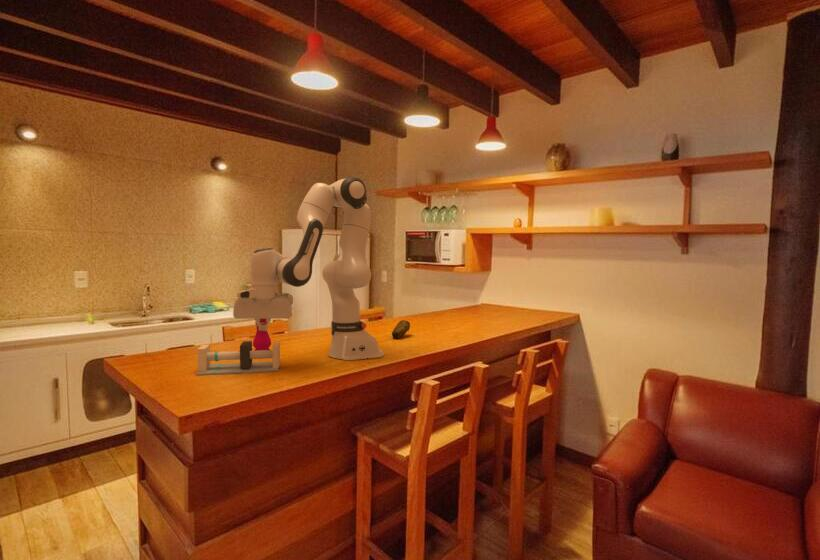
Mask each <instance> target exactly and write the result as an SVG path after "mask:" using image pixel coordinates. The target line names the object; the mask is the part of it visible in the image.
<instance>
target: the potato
mask: <svg viewBox="0 0 820 560" xmlns="http://www.w3.org/2000/svg"><path fill="white" fill-rule="evenodd" d="M410 328H411V323H410V321H408V320H400V321H399V322H398V323H397V324H396V325H395V327H394V328H393V330H392V331H391V336H392V338H394V339H399V338H402V337H404V336H405V334H407V332H409V331H410Z"/></svg>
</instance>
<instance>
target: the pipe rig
mask: <svg viewBox="0 0 820 560" xmlns="http://www.w3.org/2000/svg"><path fill="white" fill-rule="evenodd" d="M280 347H281V342H280V341H275V342H273V344H272V349H270V350H258V351H254V350H252V351H250V359H252V360H262V359H272V361H259V362H257V361H255V362H252V364H251V366H250V368H247V369H240V362H238V363H237V362H236V363H212V364H211V362H212V361H215V362H219V361H237V360H239V361H240V350H239V351H238V350H235V351H217V350H216V351H212V352H211V344H202V345H200V346H199V347H198V348H197V372H196V374H195V375H197V376H211V375H212V376H215V375H234V374H236V373H239V374H255V373H256V374H257V373H258V372H260V373H277V372H279V369H280V366H281V350H280V349H281V348H280ZM258 374H259V373H258Z"/></svg>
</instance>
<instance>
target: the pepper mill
mask: <svg viewBox="0 0 820 560" xmlns="http://www.w3.org/2000/svg"><path fill="white" fill-rule="evenodd" d="M254 320H255V321H256V319H254ZM254 323H255V326H256V330H255V331H256V332H255V335H254V337H253V341H252V347H253V348H254V350H253V351H258V350H271V349H270V348H271V345H272V340H271V337H270V335H269V333H268V330H267V331H259V326H258V325H257V323H256V322H254ZM259 323H260V324H261V325H266V324H267V322H266V319H260V321H259Z"/></svg>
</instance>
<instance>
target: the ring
mask: <svg viewBox="0 0 820 560" xmlns="http://www.w3.org/2000/svg"><path fill="white" fill-rule="evenodd" d="M239 351H240V360H239V363H240V369H247V368H250V366H251V364H252V363H253V359H250V351H253V341H252V340H244V341H242V342H241V344H240V345H239Z"/></svg>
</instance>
